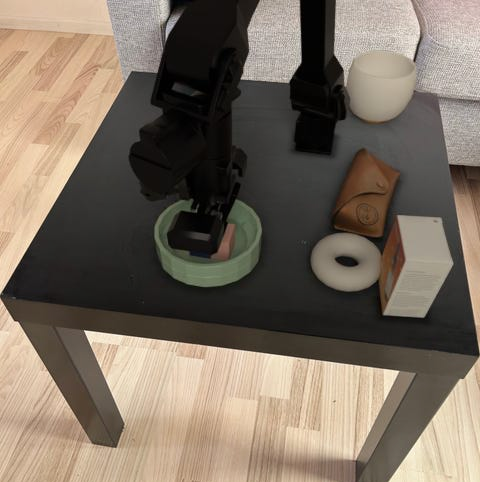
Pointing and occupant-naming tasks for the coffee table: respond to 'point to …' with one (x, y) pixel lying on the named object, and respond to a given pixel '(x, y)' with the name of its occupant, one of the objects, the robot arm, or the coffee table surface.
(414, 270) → the small box
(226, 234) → the eraser
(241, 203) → the bowl
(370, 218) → the sunglasses case
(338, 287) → the donut
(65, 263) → the coffee table surface
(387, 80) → the cup
